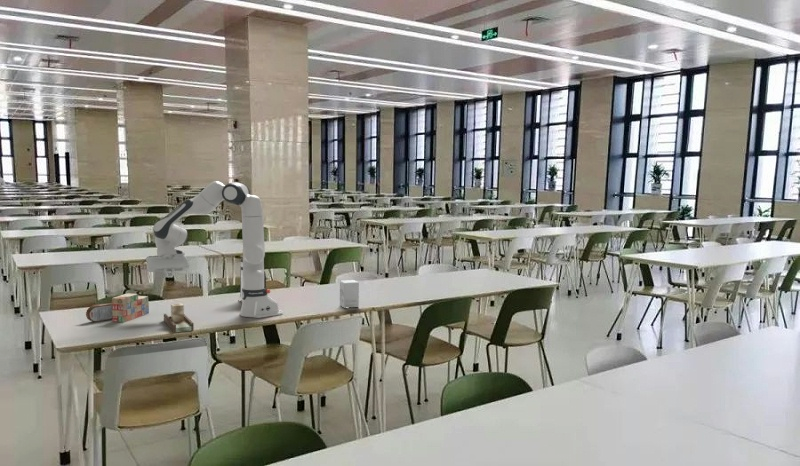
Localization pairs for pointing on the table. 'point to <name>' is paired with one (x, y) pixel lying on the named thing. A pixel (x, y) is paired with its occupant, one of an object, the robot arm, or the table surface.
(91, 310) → the tin
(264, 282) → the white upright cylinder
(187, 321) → the walled track
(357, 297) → the supplement box
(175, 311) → the birch block
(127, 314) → the stack of blocks
